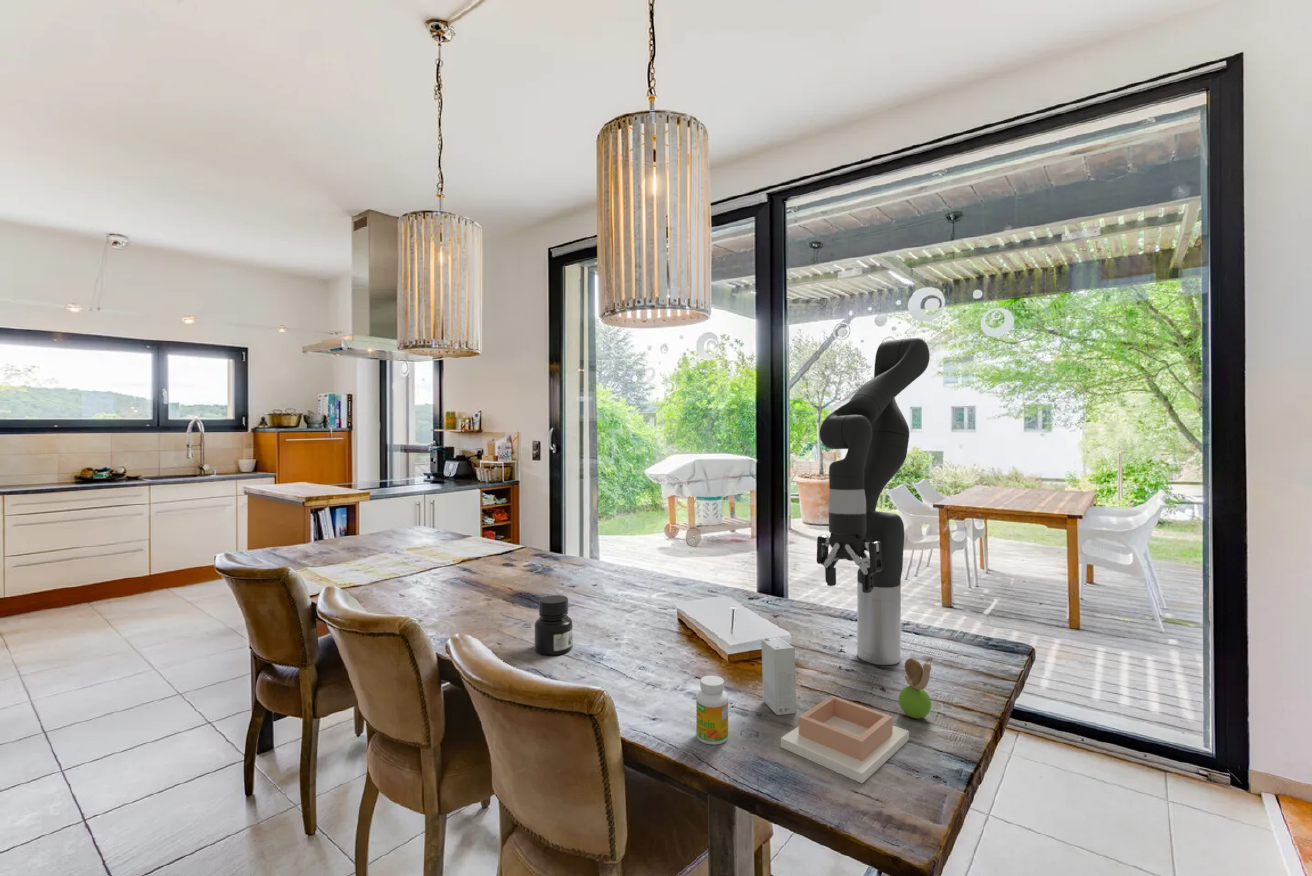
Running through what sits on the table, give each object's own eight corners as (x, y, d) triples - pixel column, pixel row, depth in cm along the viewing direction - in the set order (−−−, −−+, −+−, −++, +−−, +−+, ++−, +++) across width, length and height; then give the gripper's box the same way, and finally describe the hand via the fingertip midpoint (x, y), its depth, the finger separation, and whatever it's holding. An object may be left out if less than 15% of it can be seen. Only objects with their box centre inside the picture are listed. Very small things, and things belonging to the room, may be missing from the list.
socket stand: (832, 711, 108) (832, 687, 108) (908, 740, 98) (908, 713, 98) (780, 747, 96) (780, 720, 96) (862, 783, 86) (862, 753, 86)
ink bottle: (564, 658, 133) (563, 606, 133) (527, 655, 135) (527, 604, 135) (578, 643, 143) (578, 594, 143) (544, 640, 145) (543, 592, 144)
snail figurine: (916, 729, 102) (917, 660, 101) (892, 712, 108) (892, 647, 108) (942, 724, 103) (942, 657, 103) (916, 707, 109) (916, 644, 109)
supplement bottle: (690, 739, 98) (690, 682, 98) (705, 726, 103) (705, 671, 103) (719, 749, 95) (718, 690, 95) (733, 734, 100) (733, 678, 100)
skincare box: (797, 713, 107) (797, 647, 107) (775, 716, 106) (775, 650, 106) (782, 698, 113) (782, 636, 113) (760, 701, 112) (760, 638, 112)
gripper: (888, 512, 119) (890, 592, 118) (829, 507, 130) (831, 581, 130) (867, 514, 114) (868, 598, 114) (808, 509, 126) (809, 585, 125)
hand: (848, 588), depth 122 cm, fingers open, 8 cm apart
